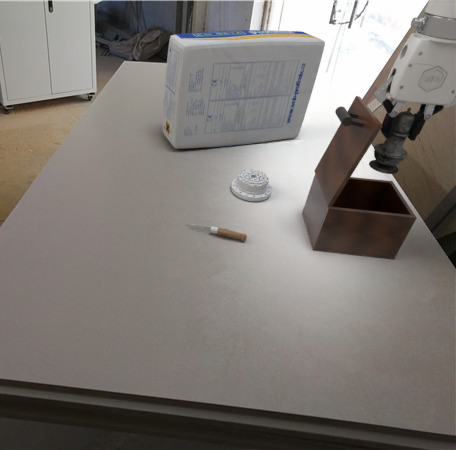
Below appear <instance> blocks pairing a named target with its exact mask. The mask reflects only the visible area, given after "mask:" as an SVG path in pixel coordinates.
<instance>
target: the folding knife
mask: <svg viewBox="0 0 456 450" xmlns="http://www.w3.org/2000/svg"><path fill="white" fill-rule="evenodd" d="M184 224H185V226H187V227H188V228H189V229H192V230H193V229H194V230H199V231H206V232H210V233H213V234H217V235H221V236H224V237H229V238H234V239H237V240H240V241H242V242H243V243H245V242H246V241H247V237H248V235H247V234H246V233H242V232H238V231H235V230H231V229H227V228H223V227H216V226H209V225H208V226H207V225H203V224H193V223H187V222H186V223H184Z"/></svg>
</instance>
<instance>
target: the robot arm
mask: <svg viewBox="0 0 456 450" xmlns="http://www.w3.org/2000/svg"><path fill="white" fill-rule="evenodd" d="M410 27H411V28H415V32H412V33H410V35H409V37H408V38H407V40H406V41H405V43H404V45H403V46H402V47H401V50H400V52H398V55H397V57H396V59H395V60H394V63H393V65H392V67H391V69H390V72H389V74H388V76H387V79H386V81H385V82H383V83H382V84H381V85H380V86H378V88H377V89H376V90H375V91H373V93H372V96H373V97H374V99H376V100H377V101H378V102H379V103H380V104H381V105H382V107H383V108H384V110H385V111H386V113H385V116H384V118H383V121H382V122H381V124H382V125H383V126H382V128H381V129H380V133H381V134H382V135H383V137H384V138H385V139H387V138H391V136H392V134H393V131H394V129H395V127H396V124H397V122H398V120H399V118H398V117H397V115H398V113H400V112H401V110H402V108H403V107H404V104H406V103H408V104H418V105H419V106H418V110H417V112H416V113H415V112H414V113H413V115H414V117H415V119H414V121H413V124H412V126H411V128H410V130H409V133H410V135H409V136H407V138H408V140H409V141H411V142H412V141H413V142H415V141H416V139H417V137H418V135H420V134H421V132H422V130H423V128H424V125H425V124H426V121H430V120H431V119H432V117H433V116H434V115H436V114H438V113H440V112H441V111H442V110H446V109H448V108H451V107H454V106H455V105H456V0H428V2H427V4H426V7H425V10H424V12H423V11H422V14H421V16H418V17H413V18H412V19H411V22H410ZM387 94H389V96H390V98H388V97H387Z"/></svg>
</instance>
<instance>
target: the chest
mask: <svg viewBox="0 0 456 450" xmlns="http://www.w3.org/2000/svg"><path fill="white" fill-rule="evenodd" d="M413 211H414V210H412V208H411V207H410V205H409V204H408V202H407V200H406V199H405V198H404V196H403V195H402V193H401V192H400V190H399V189H398V186H396V184H395V183H394V181H393V180H386V179H384V180H383V179H376V178H364V177H357V176H356V177H355V176H351V177H350V178H349V180H348V182H347V183H346V185H345V186H344V188H343V190H342V191H341V193H340V194H339V196H338V197H337V199H336V201H335V202H334V204H333V205H332V207H329V206H327V203H326V200H325V198H324V195H323V193H322V190H321V187H320V185H319V182H318V180H317V177H316V174H315V173H314V175H313V179H312V182H311V185H310V188H309V191H308V193H307V197H306V200H305V202H304V206H303V209H302V212H301V214H302V217H303V221H304V224H305V228H306V231H307V234H308V238H309V241H310V245H311V248H312V250H313V251H315V252H316V251H317V252H325V253H334V254H335V253H336V254H343V255H344V254H345V255H351V254H352V256H362V257H370V258H380V259H389V260H395V258H396V256H397V254H398V253H399V251H400V249H401V248H402V245H403V244H404V242H405V240H406V239H407V236H408V235H409V233H410V232H411V230H412V228H413V226H414V224H415V222H416V220H417V218H418V217H417V216H416V214H415V213H414V212H413Z"/></svg>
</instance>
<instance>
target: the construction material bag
mask: <svg viewBox="0 0 456 450" xmlns="http://www.w3.org/2000/svg"><path fill="white" fill-rule="evenodd" d="M325 46H326V41H325V40H323V39H321V38H319V37H316V36H314V35H312V34H309V33H307V32H304V31H301V30H300V31H299V30H265V29H264V30H261V29H260V30H258V29H257V30H256V29H253V30H252V29H251V30H247V29H246V30H245V29H244V30H239V29H237V30H218V31H203V32H188V33H176V34H172V35H170V37H169V42H168V48H167V49H168V50H167V59H166V69H165V77H164V79H165V80H164V90H163V92H164V93H163V110H162V111H163V112H162V134H163V135H164V137H166V139H167V140H168V142H169V143H170V144H171V145H172V147H173V148H174V149H177V150H179V149H181V150H183V149H199V148H200V149H202V148H217V147H231V146H241V145H250V144H259V143H266V142H273V141H279V140H280V141H281V140H286V139H293V138H297V137H298V136H299V135H300V132H301V129H302V125H303V123H304V120H305V116H306V113H307V110H308V106H309V103H310V100H311V97H312V93H313V91H314V87H315V83H316V80H317V76H318V74H319V73H318V72H319V69H320V65H321V62H322V58H323V54H324V50H325Z"/></svg>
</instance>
